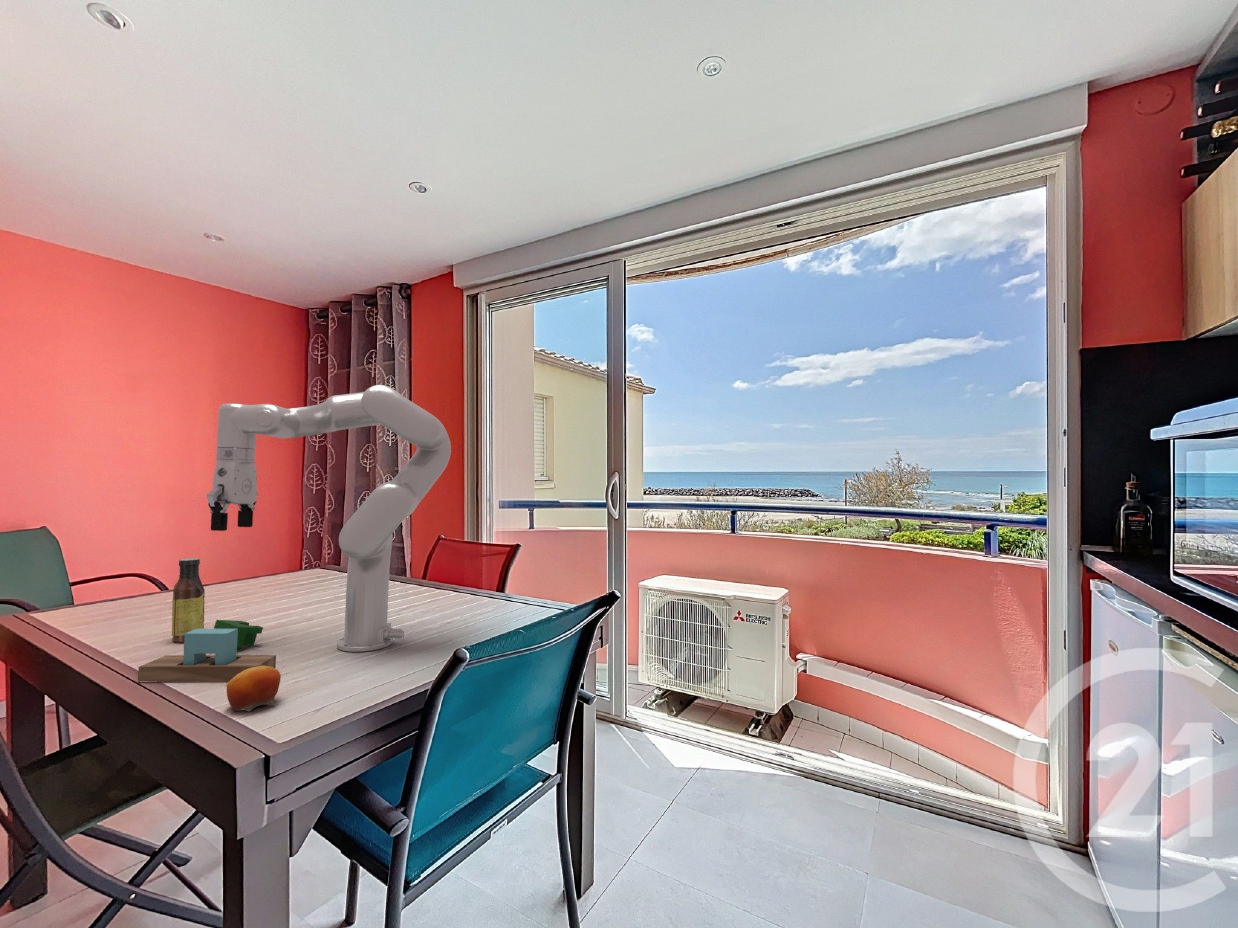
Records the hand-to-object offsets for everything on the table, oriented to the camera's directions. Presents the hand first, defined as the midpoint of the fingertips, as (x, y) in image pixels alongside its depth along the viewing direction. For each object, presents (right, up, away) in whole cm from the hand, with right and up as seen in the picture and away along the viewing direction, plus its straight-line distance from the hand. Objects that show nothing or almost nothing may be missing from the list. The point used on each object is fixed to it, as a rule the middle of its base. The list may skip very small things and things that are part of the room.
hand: (232, 528), depth 127 cm
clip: (+8, -28, -17) cm, 34 cm away
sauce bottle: (-15, -28, +6) cm, 33 cm away
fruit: (+26, -28, -31) cm, 49 cm away
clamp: (-1, -29, +2) cm, 29 cm away
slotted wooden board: (+8, -28, -17) cm, 34 cm away
